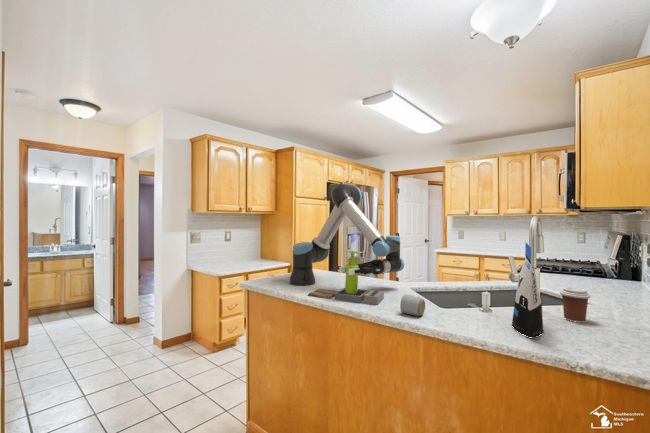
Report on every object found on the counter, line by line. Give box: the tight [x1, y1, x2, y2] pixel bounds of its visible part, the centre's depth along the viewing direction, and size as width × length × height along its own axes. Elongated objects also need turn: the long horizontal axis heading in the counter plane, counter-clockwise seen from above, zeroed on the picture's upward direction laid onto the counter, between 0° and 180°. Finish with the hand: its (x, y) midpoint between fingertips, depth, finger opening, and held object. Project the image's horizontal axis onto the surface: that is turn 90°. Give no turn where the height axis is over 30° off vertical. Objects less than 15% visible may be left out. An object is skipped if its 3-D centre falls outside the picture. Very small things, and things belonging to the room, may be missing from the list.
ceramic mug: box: [399, 293, 426, 317], centre depth 125 cm, size 11×8×8 cm
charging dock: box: [334, 287, 385, 306], centre depth 146 cm, size 13×20×4 cm, turn 64°
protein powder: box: [511, 242, 544, 338], centre depth 110 cm, size 10×24×30 cm, turn 150°
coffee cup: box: [559, 286, 591, 323], centre depth 118 cm, size 9×9×12 cm
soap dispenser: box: [344, 250, 361, 295], centre depth 147 cm, size 6×7×20 cm
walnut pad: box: [307, 288, 339, 300], centre depth 154 cm, size 12×12×1 cm
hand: (344, 270), depth 144 cm, fingers closed on soap dispenser, 6 cm apart
